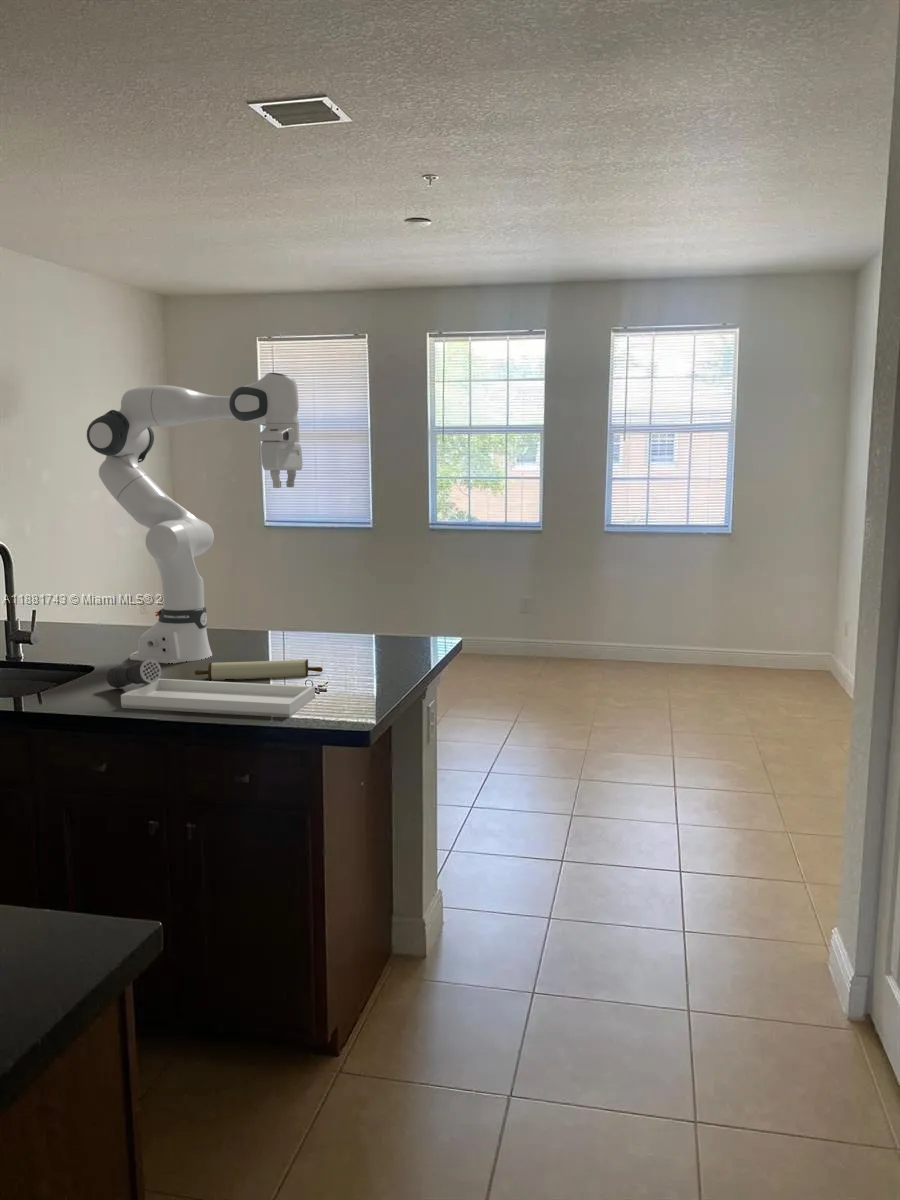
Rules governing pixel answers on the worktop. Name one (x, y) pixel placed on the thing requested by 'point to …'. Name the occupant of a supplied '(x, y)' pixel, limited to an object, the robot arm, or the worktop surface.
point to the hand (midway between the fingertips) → (283, 487)
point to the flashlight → (134, 674)
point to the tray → (219, 697)
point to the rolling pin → (258, 669)
